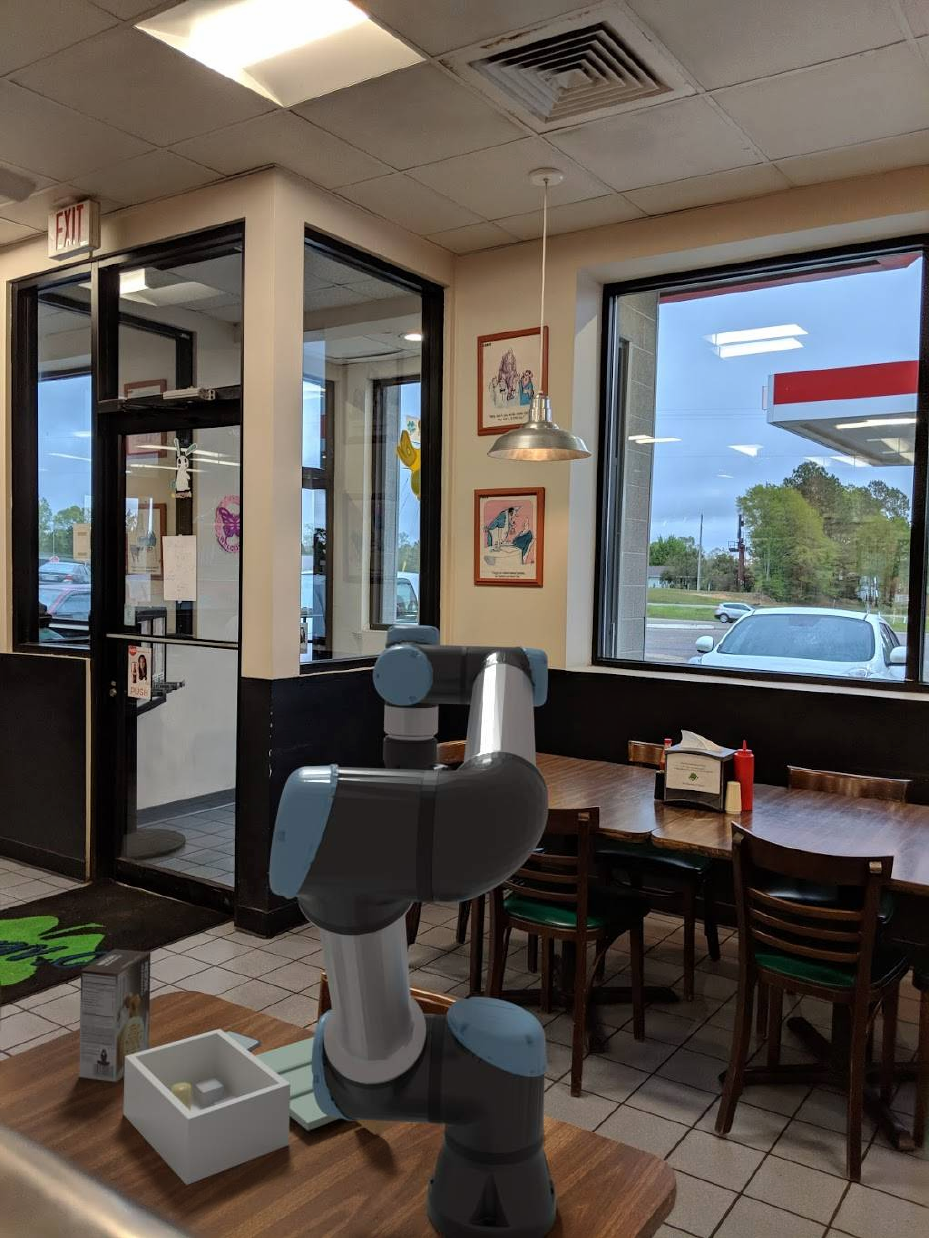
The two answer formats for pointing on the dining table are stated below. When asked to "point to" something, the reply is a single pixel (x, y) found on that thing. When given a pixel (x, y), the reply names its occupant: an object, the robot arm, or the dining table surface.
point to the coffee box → (113, 1013)
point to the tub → (206, 1104)
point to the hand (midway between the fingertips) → (406, 885)
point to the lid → (304, 1085)
